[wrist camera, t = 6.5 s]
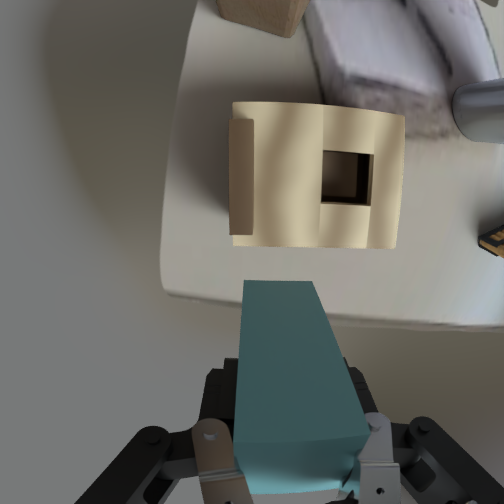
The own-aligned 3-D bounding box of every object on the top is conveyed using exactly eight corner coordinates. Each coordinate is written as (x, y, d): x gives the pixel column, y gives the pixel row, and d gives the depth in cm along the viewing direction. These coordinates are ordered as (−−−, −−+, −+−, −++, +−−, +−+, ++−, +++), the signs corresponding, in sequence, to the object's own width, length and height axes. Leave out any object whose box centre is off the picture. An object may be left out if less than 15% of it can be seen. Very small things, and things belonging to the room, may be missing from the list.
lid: (399, 117, 25) (418, 113, 22) (390, 245, 30) (406, 258, 26) (233, 103, 26) (229, 96, 22) (234, 242, 31) (230, 256, 27)
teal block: (312, 281, 17) (370, 433, 7) (305, 336, 19) (339, 487, 8) (243, 280, 17) (233, 442, 7) (243, 336, 19) (235, 493, 8)
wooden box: (370, 122, 34) (399, 117, 26) (364, 224, 39) (389, 244, 30) (240, 114, 35) (233, 104, 26) (240, 221, 39) (234, 241, 31)
